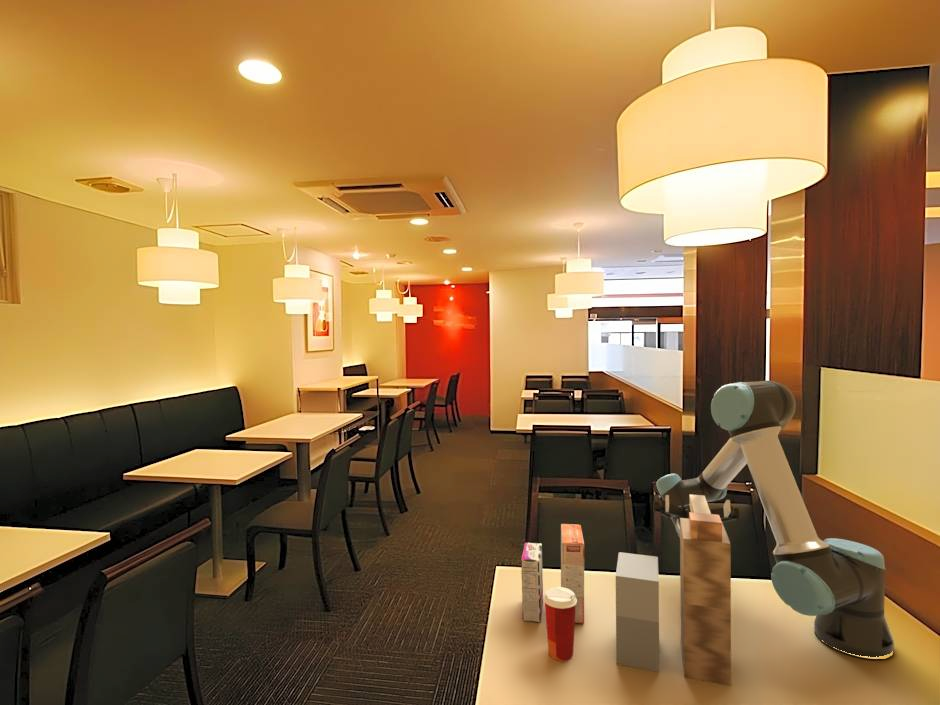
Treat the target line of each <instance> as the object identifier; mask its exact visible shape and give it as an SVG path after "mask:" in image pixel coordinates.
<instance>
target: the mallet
mask: <svg viewBox="0 0 940 705" xmlns="http://www.w3.org/2000/svg"><path fill="white" fill-rule="evenodd" d="M689 501H690V510H691V512H689V532H690V536H691V539H700V540H710V541H719V542H722V521H721V519H720V516H719V515H715V514H711V512H710V510H709V509H710V507H709V504H708V502H707V501H706V498H705V496H704V495H691V494H689Z"/></svg>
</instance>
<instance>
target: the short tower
mask: <svg viewBox="0 0 940 705" xmlns="http://www.w3.org/2000/svg"><path fill="white" fill-rule="evenodd" d="M659 577H660V576H659V557H658V556H655V555H646V554H645V555H644V554H639V553H638V554H637V553H629V552H623V551H622V552H621V551H620V552H618V555H617V563H616V571H615V644H616V645H615V646H616V647H615V648H616V649H615V650H616V651H615V652H616V657H615V658H616V665H620V666H625V667H631V668H635V669H641V670H647V671H651V672H657V673H659V672H660V588H659V587H660V584H659V583H660V578H659Z"/></svg>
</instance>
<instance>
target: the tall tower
mask: <svg viewBox="0 0 940 705" xmlns="http://www.w3.org/2000/svg"><path fill="white" fill-rule="evenodd" d="M679 547H680V548H679V560H680V561H679V562H680V563H679V566H680V567H679V573H680V574H679V575H680V576H679V579H680V580H679V584H680V585H679V587H680V589H679V590H680V592H679V593H680V594H679V597H680V600H679V601H680V608H679V610H680V612H679V613H680V647H681V648H680V649H681V650H680V651H681V657H682V658H681V660H682V669H683V676H684V678H688V679H695V680H699V681H704V682H709V683H710V682H711V683H716V684H720V685H726V686H732V627H731V626H732V624H731V623H732V622H731V620H732V616H731V615H732V611H731V610H732V609H731V608H732V605H731V604H732V601H731V600H732V597H731V596H732V594H731V593H732V589H731V588H732V587H731V586H732V585H731V583H732V582H731V580H732V579H731V578H732V576H731V574H732V573H731V572H732V571H731V570H732V569H731V568H732V567H731V562H732V561H731V559H732V558H731V557H732V555H731V552H732V550H731V548H732V547H731V541H730V538H729V535H728V534H727V531H726V528H725V526H724V523H722V542H719V541H710V540H700V539H691V536H690V532H689V519H687V518H680V537H679Z"/></svg>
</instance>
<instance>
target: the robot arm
mask: <svg viewBox="0 0 940 705" xmlns="http://www.w3.org/2000/svg"><path fill="white" fill-rule="evenodd" d="M796 403H797V402H796V399H795V396H794V395H793V392H792V391H791V390H790V389H789V387H787V386H786V385H783V384H782V383H780V382H777V381H774V380H759V381H736V382H733V383H728V384H724V385H721V387H720V388H718V389H717V390H716V391H715V392H714V394H713V398H712V399H711V403H710V411H711V412H710V413H711V417H712V419H713V420H714V423H715V424H716V425H717V426H720V428H721V429H723V430H725V431H728V434H729V437H730V438H729V439H728V440H727V442H726V443H725V444H724V445H723V446H722V447H721V449H720V450H719V452H718V453H717V454H716V455H715V456H714V458H713V459H712V460H711V461H710V462H709V464H708V465H707V466H706V467H705V469H704V470H703V471H702V472H701V473H700V474H699V476H697V477H695V478H689V479H683V480H682V478H681V476H679V474H677V473H674V472H673V473H670V474H666V475H664V476H662V477H660V478H659V479H657V481H656V482H655V486H656V489H657V491H658V493H659V496H660V497H661V499H662V500H660V502H659V501H657V500H655V501H652V502H653V503H652V506H653V507H652V509H653V510H652V511H653V512H655V513H656V514H658V515H661V516H663V517H664V518H665V519H666V520H671V521H672V523H673V526H675V532H676V534H677V536H678V537H679V538H680V518H687V519H689V512H691V510H690V501H689V494H691V495H704V496H705V498H706V501H707V503H709V502H711V503H712V502H717V501H719V500H722V499H724V498H725V497H726V496H727V492H728V485H729V484H730V483H731V482H732V481H733V479H735V478H736V476H737V475H738V474H739V473H740V472H741V471H742V469H744V467H745V466H746V465H747V466H748V469H749V472H750V475H751V477H752V480H753V482H754V485H755V488H756V490H757V493H758V496H759V499H760V502H761V504H762V507H763V510H764V513H765V515H766V517H767V521H768V523H769V526H770V529H771V532H772V534H773V536H774V539H775V542H776V545H775V547H774V550H773V551H772V555H773V557H774V559H775V562H776V564H775V565H774V566H773V568H772V572H771V574H770V577H771V578H770V580H771V583H772V587H773V588H774V590H775V593H776V594H777V595H778V597H779V598H780V599H781V601H782V602H783V603H784V604H785V605H787V606H789V607H790V608H791V609H792V611H795V612H797V613H798V614H800V615H804V616H808V617H815V619H814V621H813V623H814V624H813V625H814V626H813V627H814V628H813V630H815V632H814V634H815V633H816V634H817V636H818V637H819V638H820V639H821V640H823V641H824V642H825V643H827V644H828V645H830V646H832V647H835V648H837V649H839V650H842V651H845V652H847V653H851V654H855V655H859V656H860V655H861V656H868V657H869V656H870V657H876V656H877V657H879V656H884V655H887V654H890V653H891V652H892V651H893V649H894V650H895V643H894V639H893V635H892V633H891V630H890V628H889V625H888V622H887V619H886V617H885V600H886V599H885V594H886V593H885V592H886V590H885V588H886V587H885V585H886V584H885V583H886V580H885V579H886V567H885V557H884V555H883V554H882V553H881V552H880V551H879V550H878V549H876V548H874V547H872V546H870V545H866V544H864V543H860V542H856V541H852V540H848V539H843V538H836V537H835V538H834V537H833V538H832V537H830V538H825V539H824V540H822V539H821V538H819V536H818V534H817V531H816V529H815V527H814V524H813V521H812V519H811V517H810V514H809V512H808V509H807V507H806V504H805V502H804V500H803V496H802V494H801V491H800V489H799V486H798V485H797V484H798V483H797V481H796V479H795V476H794V475H793V471H792V470H791V467H790V465H789V464H790V463H789V461H788V459H787V457H786V455H785V451H784V449H783V446H782V445H781V442H780V439H779V435H780V433H781V432H782V431H783V430H784V429H785V428H786V427H787V425H788V424H789V423H790V422H791V421H792V418H793V416H794V415H795V412H796V407H797V406H796ZM709 510H710V512H711V514H715V515H719V516H720V519H721V521H722V523H723V524H725V523H728V522H733V521H737V520H741V514H740V512H741V511H740V508H738V507H735V508H734V506H732V504H731V500H730V499H726V500H725V502H724V504H723V507H718V508H709ZM816 634H815V635H816ZM817 636H816V637H817ZM818 637H817V638H818ZM819 638H818V639H819ZM820 639H819V640H820ZM821 640H820V641H821ZM824 642H823V643H824ZM825 643H824V644H825ZM828 645H827V646H828ZM830 646H829V647H830Z"/></svg>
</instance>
